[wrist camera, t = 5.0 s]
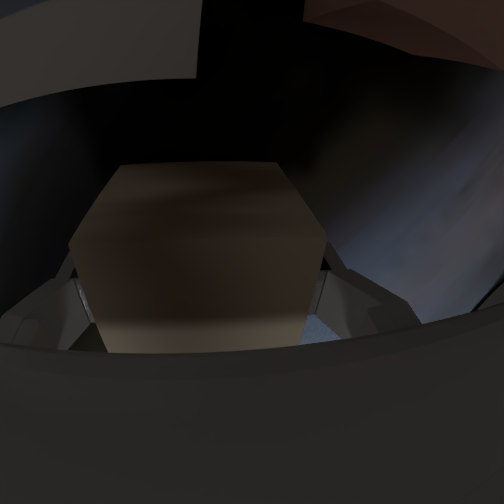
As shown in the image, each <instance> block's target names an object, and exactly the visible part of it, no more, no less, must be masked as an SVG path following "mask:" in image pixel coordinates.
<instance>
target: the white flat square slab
mask: <svg viewBox="0 0 504 504" xmlns="http://www.w3.org/2000/svg"><path fill="white" fill-rule="evenodd" d="M202 3H203V0H0V107H3V106H6V105H10V104H13V103H16V102H20V101H24V100H27V99H31V98H35V97H39V96H43V95H48V94H52V93H57V92H62V91H67V90H72V89H77V88H83V87H90V86H96V85H103V84H111V83H120V82H130V81H141V80H156V79H182V78H196V74H197V59H198V46H199V34H200V23H201V12H202Z"/></svg>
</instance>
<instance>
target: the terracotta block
mask: <svg viewBox="0 0 504 504" xmlns="http://www.w3.org/2000/svg"><path fill="white" fill-rule="evenodd" d="M303 22H308V23H313V24H318V25H322V26H326V27H330V28H334V29H338V30H342V31H346V32H349V33H353V34H356V35H360V36H363V37H366V38H369V39H372V40H375V41H378V42H381V43H384V44H387V45H389V46H392V47H395V48H397V49H400V50H403V51H405V52H408V53H410V54H412V55H418V56H426V57H434V58H441V59H447V60H453V61H459V62H464V63H469V64H474V65H478V66H483V67H487V68H491V69H495V70H499V71H502V72H504V0H305V5H304V14H303Z"/></svg>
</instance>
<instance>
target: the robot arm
mask: <svg viewBox="0 0 504 504" xmlns="http://www.w3.org/2000/svg"><path fill="white" fill-rule="evenodd" d="M311 314H315V316H317V317H318V318H319V319H320V320H321V321H322V322H323V323H325V324H326V325H327V326H328V327H329V328H330V329H331V330H332V331H334V332H335V333H336V334H337V335H338V336H339V337H340V338H342V339H341V340H334V341H327V342H320V343H312V344H304V345H295V346H286V347H276V348H266V349H254V350H240V351H224V352H203V353H106V352H86V351H71V350H68V349H69V347H70V346H71V345H72V344H73V343H74V342H75V340H76V339H77V338H78V337H79V336H80V335H81V334H82V332H83V331H84V330H85V329H86V328H87V327H88V326H89V324H90V322H95V320H94V318H93V315H92V313H91V310H90V308H89V305H88V302H87V300H86V297H85V294H84V291H83V289H82V286H81V283H80V280H79V277H78V274H77V271H76V268H75V265H74V262H73V258H72V255H71V252H70V251H69V253H68V255H67V257H66V259H65V260H64V262H63V264H62V266H61V268H60V270H59V272H58V274H57V276H56V278H55V279H50V280H49V281H47V282H46V283H45V284H43V285H42V286H41V287H39V288H38V289H36V290H35V291H34V292H32V293H31V294H30V295H28V296H27V297H26V298H24V299H23V300H22V301H20V302H19V303H18V304H16V305H15V306H14V307H13V308H11V309H10V310H9V311H8V312H6V313H5V314H4V315H2V317H1V319H0V504H504V283H503V284H502V285H500V286H499V287H498V288H497V289H496V290H495V291H494V292H493V293H492V294H491V295H490V296H489V297H488V298H487V299H486V300H485V301H484V303H483V304H482V305H481V306H480V307H479V308H478V309H477V310H476V311H473V312H469V313H465V314H462V315H458V316H454V317H450V318H446V319H442V320H438V321H434V322H430V323H426V324H422V323H421V322H420V320H419V319H418V317H417V316H416V314H415V313H414V311H413V310H412V308H411V307H410V305H409V304H408V303H407V301H405V300H403V299H402V298H400V297H398V296H397V295H395V294H393V293H391V292H390V291H388V290H386V289H385V288H383V287H381V286H379V285H378V284H376V283H374V282H373V281H371V280H369V279H367V278H366V277H364V276H362V275H360V274H359V273H357V272H355V271H353V270H352V269H347V268H346V267H345V265H344V264H343V262H342V260H341V259H340V257H339V256H338V254H337V253H336V251H335V250H334V248H333V246H332V245H331V243H329V242H328V241H327V243H326V247H325V252H324V256H323V260H322V264H321V268H320V272H319V276H318V279H317V283H316V287H315V291H314V295H313V298H312V302H311V306H310V309H309V313H308V315H311Z"/></svg>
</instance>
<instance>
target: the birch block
mask: <svg viewBox="0 0 504 504" xmlns="http://www.w3.org/2000/svg"><path fill="white" fill-rule="evenodd" d="M327 239H328V236H327V234H326V233H325V231H324V230H323V228H322V227H321V225H320V224H319V222H318V221H317V219H316V218H315V216H314V215H313V213H312V212H311V210H310V209H309V207H308V206H307V205H306V203H305V202H304V200H303V199H302V197H301V196H300V194H299V193H298V192H297V190H296V189H295V187H294V186H293V185H292V183H291V182H290V180H289V179H288V178H287V176H286V175H285V173H284V172H283V171H282V169H281V168H280V167H279V165H278V164H277V162H249V161H199V162H166V163H147V164H131V165H121V166H120V167H119V168H118V170H117V171H116V172H115V174H114V175H113V176H112V178H111V179H110V181H109V182H108V183H107V185H106V186H105V188H104V189H103V190H102V192H101V193H100V195H99V196H98V198H97V199H96V201H95V202H94V204H93V205H92V207H91V208H90V210H89V211H88V213H87V214H86V216H85V217H84V219H83V220H82V222H81V224H80V225H79V227H78V228H77V230H76V232H75V233H74V235H73V237H72V238H71V240H70V242H69V243H68V245H69V248H70V252H71V255H72V258H73V262H74V265H75V268H76V271H77V274H78V277H79V280H80V283H81V286H82V289H83V291H84V294H85V297H86V300H87V302H88V305H89V308H90V310H91V313H92V315H93V318H94V320H95V323H96V325H97V328H98V330H99V332H100V335H101V337H102V339H103V342H104V344H105V346H106V348H107V351H108V353H203V352H224V351H240V350H254V349H266V348H276V347H286V346H295V345H299V344H300V340H301V337H302V334H303V330H304V327H305V323H306V320H307V316H308V313H309V309H310V306H311V302H312V298H313V295H314V291H315V287H316V283H317V279H318V276H319V272H320V268H321V264H322V260H323V256H324V252H325V247H326V243H327Z"/></svg>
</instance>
